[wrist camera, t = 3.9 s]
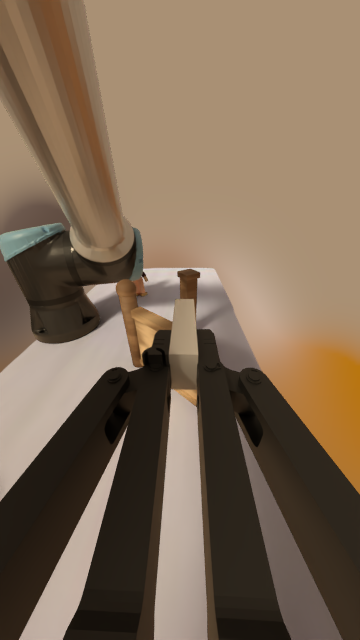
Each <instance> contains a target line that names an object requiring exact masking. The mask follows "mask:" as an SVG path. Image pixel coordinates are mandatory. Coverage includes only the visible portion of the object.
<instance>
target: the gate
mask: <svg viewBox="0 0 360 640" xmlns="http://www.w3.org/2000/svg"><path fill="white" fill-rule="evenodd" d="M131 316H132V318H134V319H135V325H136V331H137V336H138V342H139V348H140V353H141V359H140V364H142V365H143V360H142V353H143V351H144V350H146V349H147V348H150V347H152V344H153V340H154V335H155V334H156V332H157V331H158V330H172V323H173V322H171V321H169V320H167V319H165V318H163V317H161V316H159V315H157V314H155V313H153V312H150V311H148V310H146V309H144V308H142V307H138V308H135V309H133V310H131ZM174 390H175V389H174ZM175 391H177V392H178V393H179V394H181V395H182V396H183V397H185V398H186V399H187V400H188V401H190V402H191V403H192V404H194V405H195V406H196V403H197V390H175Z"/></svg>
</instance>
